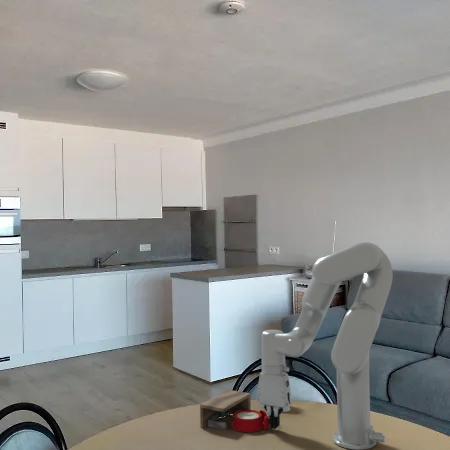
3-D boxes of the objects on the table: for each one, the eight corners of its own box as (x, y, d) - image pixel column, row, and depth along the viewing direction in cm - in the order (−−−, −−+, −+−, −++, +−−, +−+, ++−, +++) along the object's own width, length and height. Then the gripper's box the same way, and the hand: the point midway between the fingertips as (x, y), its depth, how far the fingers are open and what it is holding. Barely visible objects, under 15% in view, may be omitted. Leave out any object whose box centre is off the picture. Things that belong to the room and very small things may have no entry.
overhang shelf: (250, 415, 168) (250, 393, 169) (223, 432, 153) (223, 408, 153) (228, 411, 173) (228, 389, 173) (200, 427, 158) (200, 404, 158)
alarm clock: (226, 411, 163) (269, 399, 164) (231, 429, 163) (273, 417, 164) (230, 422, 152) (275, 409, 154) (234, 441, 152) (280, 428, 154)
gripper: (299, 369, 154) (300, 427, 153) (258, 364, 162) (259, 419, 161) (290, 375, 148) (291, 436, 147) (247, 369, 155) (248, 427, 154)
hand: (274, 427), depth 154 cm, fingers closed
